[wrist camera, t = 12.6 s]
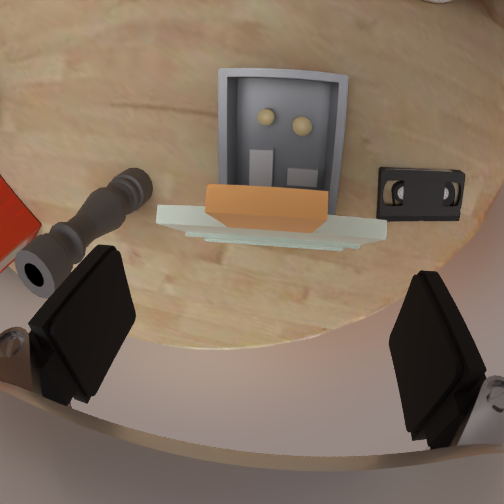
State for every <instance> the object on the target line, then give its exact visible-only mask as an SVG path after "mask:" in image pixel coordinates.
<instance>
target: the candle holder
mask: <svg viewBox="0 0 504 504" xmlns="http://www.w3.org/2000/svg"><path fill="white" fill-rule="evenodd" d="M152 190H153V188H152V182H151V180H150V178H149V176H148V175H147V174H146V173H145V172H144V171H143V170H140V169H138V168H129V169H127V170H125V171H124V172H122V173H120V174H119V175H117V176H116V177H114V178H113V180H112V181H111V182H110V183H109V184H108V186H107V187H104V188H99V189H97V190H95V191H94V192H92V193H91V194H90V196H89V197H88V198H87V200H86V201H85V203H84V204H83V205H82V207H81V208H80V210H79V211H78V213H77V214H76V215H75V216H74V217H73V218H72V219H70V220H69V221H68V222H58V223H57V224H55V225H54V226H52V228H51V230H50V232H49V233H45V234H44V235H39V236H37V237H36V238H34V239H33V240H32V241H31V242H30V243H28V244H27V245H26V246H25V247H24V248H22V249H21V250H20V251H19V252H18V253H17V254H16V258H15V265H16V270H17V272H18V275H19V277H20V278H21V280H22V281H23V283H24V284H25V286H26V287H27V288H28V289H29V290H30V291H31V292H32V293H34V294H36V295H37V296H39V297H43V298H49V297H50V296H51V295H52V294H53V293H54V291H55V290H56V289H57V288H58V287H59V286H60V285H61V283H62V282H63V281H64V280H65V279H66V278H67V277H68V276H69V275H70V273H71V270H72V268H73V264H77V263H79V262H81V260H82V259H83V257H84V256H85V251H86V247H87V246H88V245H89V244H90V243H91V242H92V241H93V240H94V239H96V238H98V237H100V236H102V235H105V234H107V233H109V232H111V231H113V230H115V229H117V228H119V227H120V226H121V225H122V223H123V222H124V221H125V218H126V215H128V214H130V213H132V212H133V211H135V210H138V209H139V208H140V207H141V206H142V205H143V204H144V203H145V202H146V201H147V200H148V199H149V198H150V197H151V194H152Z"/></svg>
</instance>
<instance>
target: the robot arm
mask: <svg viewBox="0 0 504 504" xmlns="http://www.w3.org/2000/svg"><path fill="white" fill-rule="evenodd" d="M424 1H427V2H431V3H446V2H449V1H452V0H424ZM135 318H136V313H135V309H134V305H133V302H132V298H131V294H130V290H129V286H128V283H127V279H126V275H125V270H124V266H123V262H122V258H121V254H120V252H119V251H117V250H116V248H115V247H114V246H110V245H97V246H96V247H95V248H94V249H93V250H92V251H91V252H90V253H89V254H88V255H87V256H86V257H85V258H84V259H83V260H82V262H81V263H80V264H79V265H78V266H77V267H76V268H75V269H74V270H73V271H72V272H71V273H70V275H69V276H68V277H67V278H66V279H65V280H64V281H63V282H62V283H61V285H60V286H59V287H58V288H57V289H56V290H55V291H54V293H53V294H52V295H51V296H50V297H49V298H48V300H47V301H46V302H45V303H44V304H43V306H42V307H41V308H40V309H39V310H38V312H37V313H36V314H35V315H34V317H33V318H32V319H31V320H30V322H29V323H28V324H29V326H30V328H31V332H30V333H29V334H28V332H27V331H26V330H25V329H23V328H21V327H12V328H9V329H7V330H5V331H3V332H2V333H1V334H0V504H504V377H502V376H495V375H494V376H491V377H488V378H487V379H486V376H485V374H484V373H485V372H486V367H485V365H484V363H483V360H482V358H481V356H480V353H479V351H478V349H477V347H476V344H475V342H474V340H473V338H472V336H471V334H470V332H469V330H468V328H467V326H466V324H465V322H464V319H463V317H462V316H461V314H460V312H459V310H458V308H457V306H456V304H455V302H454V300H453V298H452V297H451V295H450V293H449V291H448V289H447V287H446V286H445V284H444V282H443V280H442V279H441V277H440V275H439V274H438V272H435V271H422V270H421V271H419V273H418V274H417V275H414V276H413V278H412V280H411V283H410V286H409V289H408V292H407V294H406V297H405V300H404V302H403V305H402V308H401V310H400V313H399V315H398V318H397V320H396V323H395V325H394V328H393V330H392V332H391V335H390V338H389V347H390V352H391V356H392V360H393V365H394V369H395V373H396V378H397V382H398V388H399V392H400V397H401V402H402V408H403V413H404V419H405V425H406V430H407V431H408V432H411V436H412V441H414V440H423V439H427V444H428V447H427V448H426V450H425V451H416V452H407V453H398V454H386V455H372V456H351V457H350V456H349V457H311V456H289V455H274V454H262V453H252V452H244V451H236V450H229V449H222V448H216V447H209V446H204V445H198V444H193V443H187V442H183V441H179V440H174V439H170V438H166V437H161V436H157V435H153V434H149V433H146V432H142V431H138V430H135V429H131V428H128V427H124V426H121V425H118V424H115V423H111V422H108V421H105V420H102V419H99V418H97V417H93V416H91V415H88V414H85V413H83V412H80V411H77V410H74V409H72V407H71V402H70V401H71V399H72V398H73V397H74V399H76V400H79V401H81V402H84V403H88V402H89V400H90V398H91V396H94V395H95V394H96V393H97V391H98V389H99V387H100V385H101V383H102V381H103V379H104V377H105V375H106V374H107V372H108V370H109V368H110V366H111V364H112V362H113V360H114V358H115V357H116V355H117V353H118V351H119V349H120V347H121V345H122V343H123V341H124V340H125V338H126V336H127V334H128V333H129V331H130V329H131V327H132V325H133V324H134V322H135Z"/></svg>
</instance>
